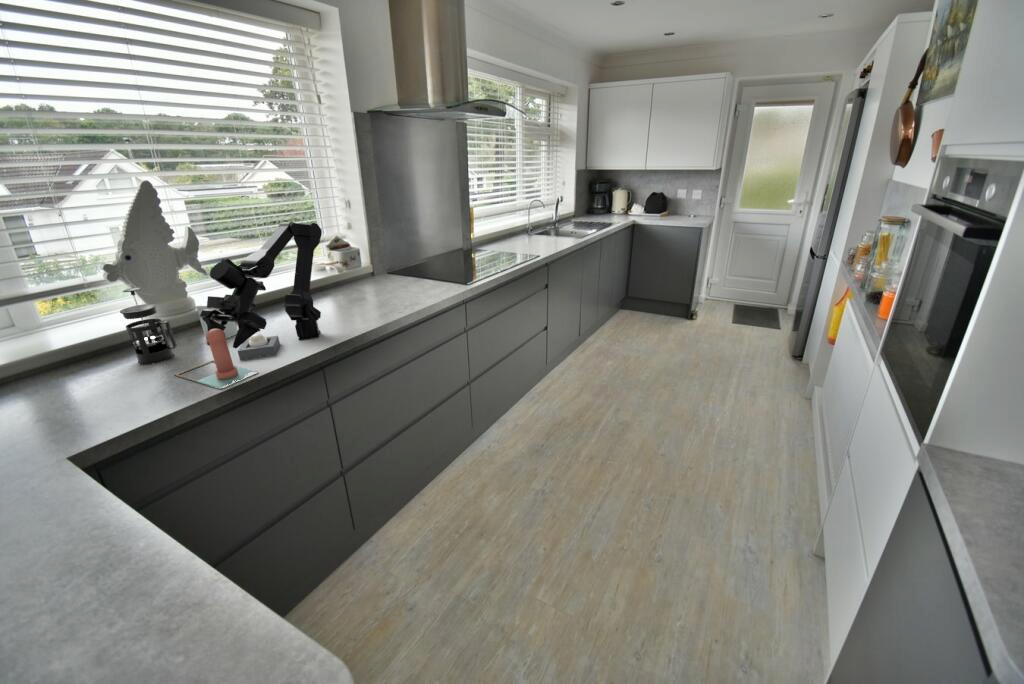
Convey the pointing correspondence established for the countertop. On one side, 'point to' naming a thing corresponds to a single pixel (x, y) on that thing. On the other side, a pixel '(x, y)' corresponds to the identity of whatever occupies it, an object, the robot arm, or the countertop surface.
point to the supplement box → (230, 326)
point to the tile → (217, 383)
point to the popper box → (259, 348)
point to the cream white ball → (258, 340)
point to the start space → (191, 369)
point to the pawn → (221, 354)
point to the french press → (147, 352)
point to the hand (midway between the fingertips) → (221, 346)
